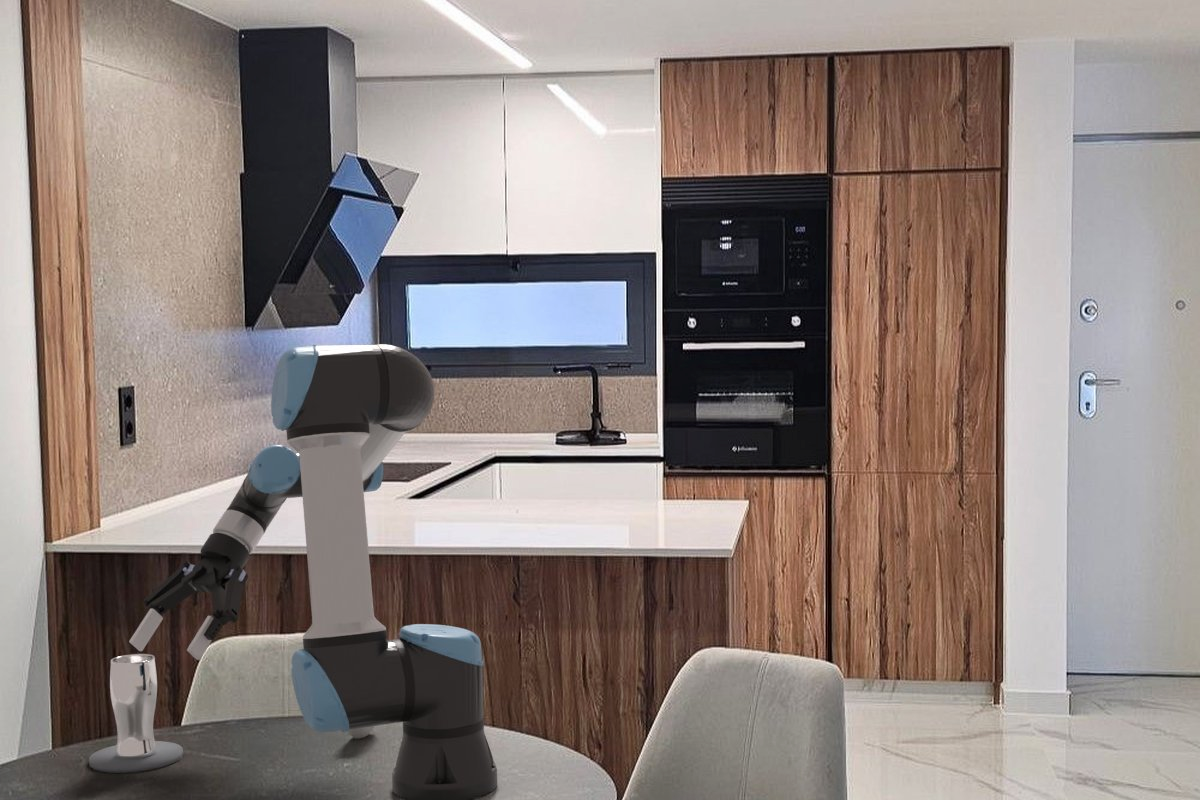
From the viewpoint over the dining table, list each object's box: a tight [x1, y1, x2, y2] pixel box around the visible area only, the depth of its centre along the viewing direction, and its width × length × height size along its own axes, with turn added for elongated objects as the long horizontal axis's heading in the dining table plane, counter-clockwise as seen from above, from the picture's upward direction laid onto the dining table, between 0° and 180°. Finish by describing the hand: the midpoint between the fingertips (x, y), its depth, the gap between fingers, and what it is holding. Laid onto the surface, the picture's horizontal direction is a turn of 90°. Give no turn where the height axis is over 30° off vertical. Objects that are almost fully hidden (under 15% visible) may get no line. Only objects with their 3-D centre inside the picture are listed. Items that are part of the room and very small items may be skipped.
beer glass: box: [109, 653, 158, 759], centre depth 228 cm, size 7×7×15 cm
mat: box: [88, 740, 184, 774], centre depth 228 cm, size 14×14×1 cm
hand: (163, 651), depth 233 cm, fingers open, 13 cm apart
